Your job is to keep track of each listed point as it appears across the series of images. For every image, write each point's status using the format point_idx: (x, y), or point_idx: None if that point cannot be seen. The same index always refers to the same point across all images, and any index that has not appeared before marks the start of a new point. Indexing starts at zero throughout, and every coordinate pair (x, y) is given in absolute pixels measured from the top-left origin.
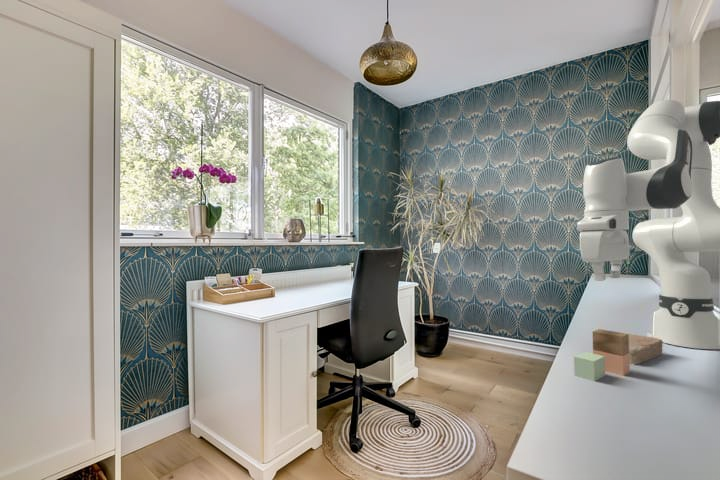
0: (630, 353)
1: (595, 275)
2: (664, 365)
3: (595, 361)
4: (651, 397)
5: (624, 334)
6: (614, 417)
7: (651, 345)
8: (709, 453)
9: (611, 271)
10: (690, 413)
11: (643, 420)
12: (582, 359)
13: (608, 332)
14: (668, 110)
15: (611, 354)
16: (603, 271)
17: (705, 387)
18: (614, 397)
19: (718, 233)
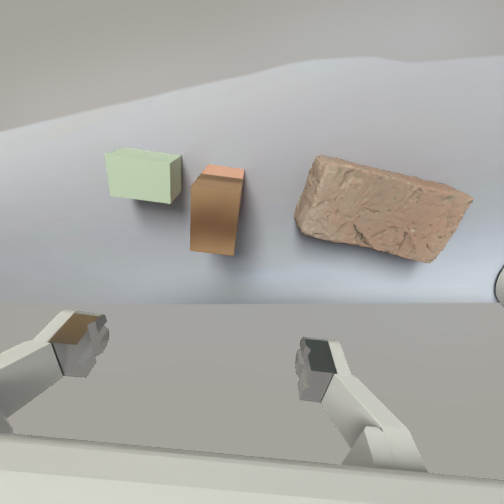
0: (299, 221)
1: (43, 333)
2: (328, 254)
3: (119, 196)
4: (136, 256)
5: (220, 250)
6: (16, 234)
7: (375, 249)
8: (34, 302)
9: (308, 373)
10: (122, 289)
11: (45, 258)
12: (107, 172)
13: (212, 220)
14: None
15: None
16: (39, 388)
17: (244, 297)
18: (85, 222)
19: None
